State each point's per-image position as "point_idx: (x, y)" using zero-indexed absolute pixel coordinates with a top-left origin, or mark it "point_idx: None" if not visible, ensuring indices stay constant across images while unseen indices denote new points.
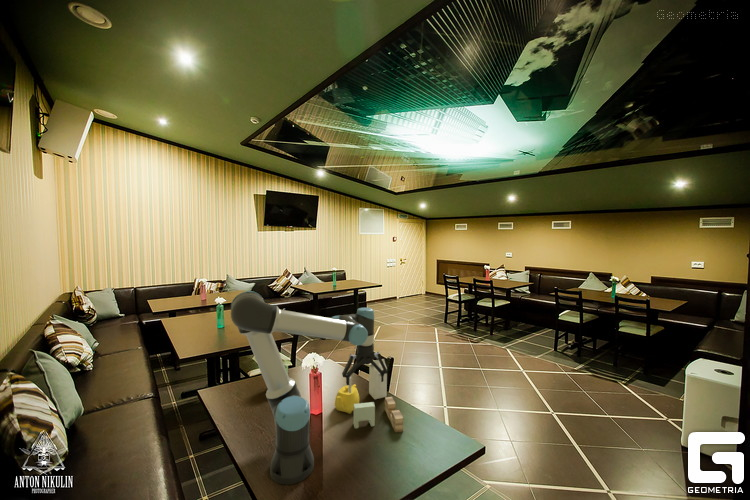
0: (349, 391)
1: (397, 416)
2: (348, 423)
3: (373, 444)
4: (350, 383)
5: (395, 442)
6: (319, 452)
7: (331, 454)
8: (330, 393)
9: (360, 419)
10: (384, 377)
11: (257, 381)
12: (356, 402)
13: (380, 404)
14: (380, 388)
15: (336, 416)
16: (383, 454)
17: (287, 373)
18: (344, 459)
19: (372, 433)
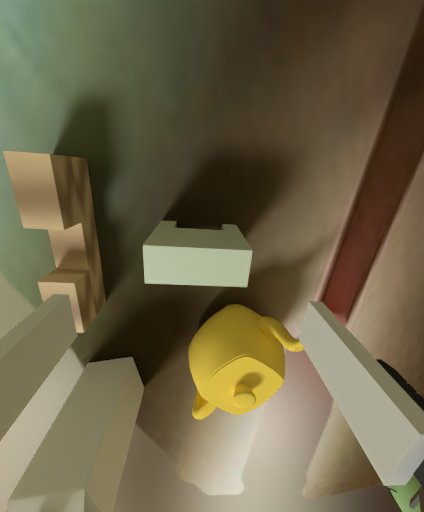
0: (329, 310)
1: (36, 173)
2: None
3: (191, 107)
4: (371, 367)
5: (96, 90)
6: (393, 122)
7: (360, 96)
8: None
9: (217, 231)
10: (53, 442)
11: None
12: (207, 331)
13: (116, 329)
14: (51, 303)
15: (275, 299)
16: (164, 20)
17: (402, 491)
18: (326, 44)
19: (179, 178)
